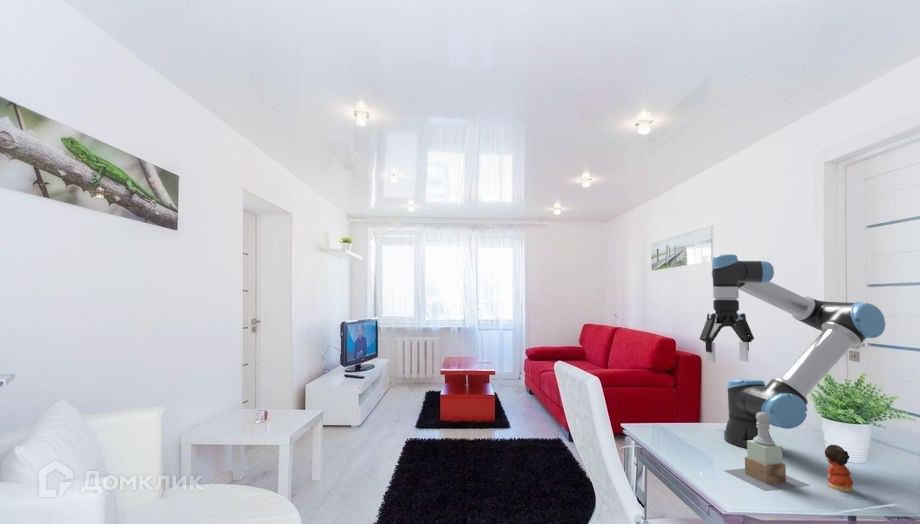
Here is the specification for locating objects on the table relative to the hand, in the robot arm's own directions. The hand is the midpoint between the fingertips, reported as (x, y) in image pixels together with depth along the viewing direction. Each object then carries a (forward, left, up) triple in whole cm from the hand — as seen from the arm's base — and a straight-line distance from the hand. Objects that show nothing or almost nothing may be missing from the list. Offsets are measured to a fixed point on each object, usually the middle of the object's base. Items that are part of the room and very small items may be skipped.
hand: (727, 361), depth 148 cm
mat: (+5, +17, -32) cm, 36 cm away
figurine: (-10, +27, -32) cm, 43 cm away
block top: (+5, +17, -26) cm, 32 cm away
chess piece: (+5, +17, -22) cm, 28 cm away
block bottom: (+5, +17, -31) cm, 36 cm away
